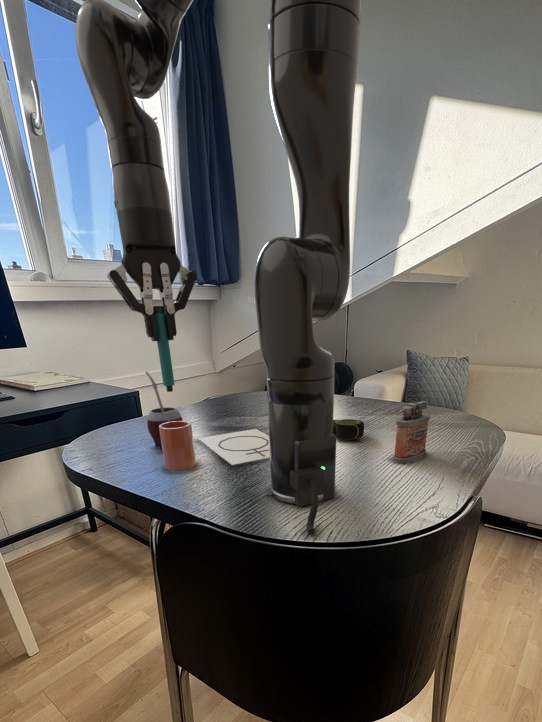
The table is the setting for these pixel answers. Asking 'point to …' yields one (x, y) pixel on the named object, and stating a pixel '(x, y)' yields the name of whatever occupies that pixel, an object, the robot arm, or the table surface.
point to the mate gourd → (160, 417)
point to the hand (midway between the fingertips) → (162, 340)
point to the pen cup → (177, 445)
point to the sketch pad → (240, 446)
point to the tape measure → (348, 429)
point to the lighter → (411, 433)
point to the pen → (164, 348)
